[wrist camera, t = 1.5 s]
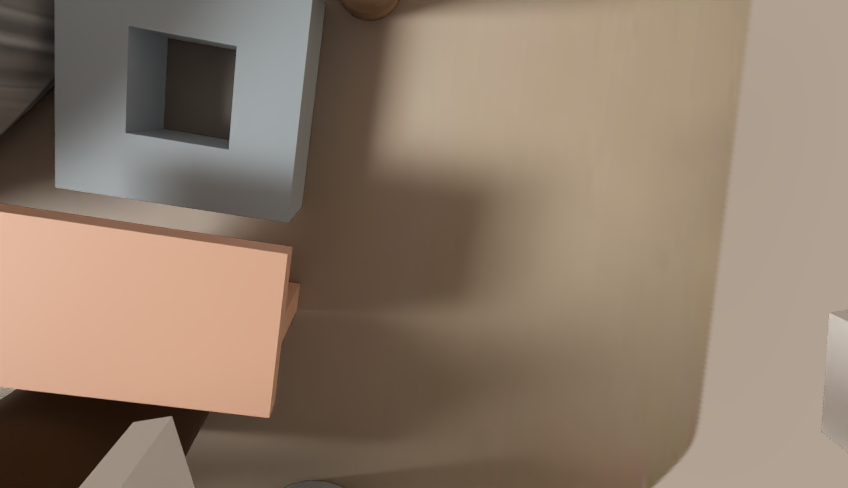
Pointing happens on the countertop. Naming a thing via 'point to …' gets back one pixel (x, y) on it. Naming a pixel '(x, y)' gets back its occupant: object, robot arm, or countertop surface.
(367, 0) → the peg
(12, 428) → the olive oil
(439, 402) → the countertop surface
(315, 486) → the spray bottle
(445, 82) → the countertop surface
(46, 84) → the toaster
